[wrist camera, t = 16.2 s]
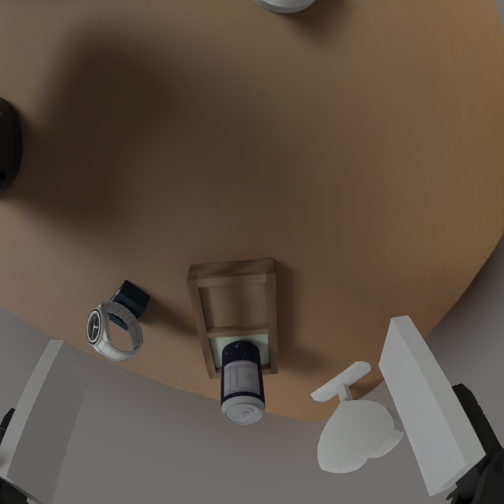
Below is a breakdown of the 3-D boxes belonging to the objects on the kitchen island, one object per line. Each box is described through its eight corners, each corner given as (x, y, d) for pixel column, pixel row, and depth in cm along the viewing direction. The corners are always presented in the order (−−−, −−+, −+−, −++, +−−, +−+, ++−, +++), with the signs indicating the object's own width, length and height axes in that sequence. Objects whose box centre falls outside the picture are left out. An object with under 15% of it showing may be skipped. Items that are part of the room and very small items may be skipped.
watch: (115, 271, 42) (88, 321, 33) (159, 303, 45) (144, 357, 36) (98, 294, 44) (72, 344, 35) (140, 324, 47) (123, 376, 37)
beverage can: (214, 351, 47) (211, 416, 36) (237, 330, 45) (240, 397, 34) (243, 366, 49) (246, 430, 38) (267, 347, 47) (275, 412, 36)
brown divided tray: (210, 361, 52) (209, 378, 48) (190, 265, 43) (186, 280, 39) (275, 356, 52) (278, 373, 48) (272, 258, 43) (275, 273, 39)
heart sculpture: (319, 405, 60) (336, 480, 44) (303, 399, 58) (318, 477, 42) (378, 364, 55) (410, 440, 39) (365, 354, 53) (397, 436, 37)
